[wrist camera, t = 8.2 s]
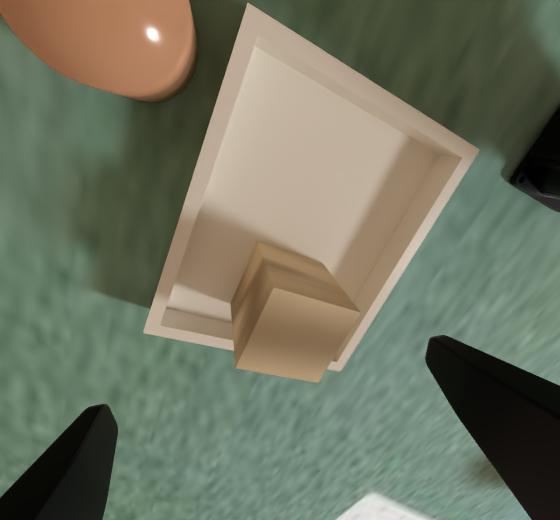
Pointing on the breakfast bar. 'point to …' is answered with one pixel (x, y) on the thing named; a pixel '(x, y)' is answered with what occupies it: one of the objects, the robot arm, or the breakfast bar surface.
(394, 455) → the breakfast bar surface
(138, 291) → the breakfast bar surface
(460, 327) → the breakfast bar surface
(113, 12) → the terracotta domed cylinder
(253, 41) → the tray
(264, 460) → the breakfast bar surface
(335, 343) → the maple block
